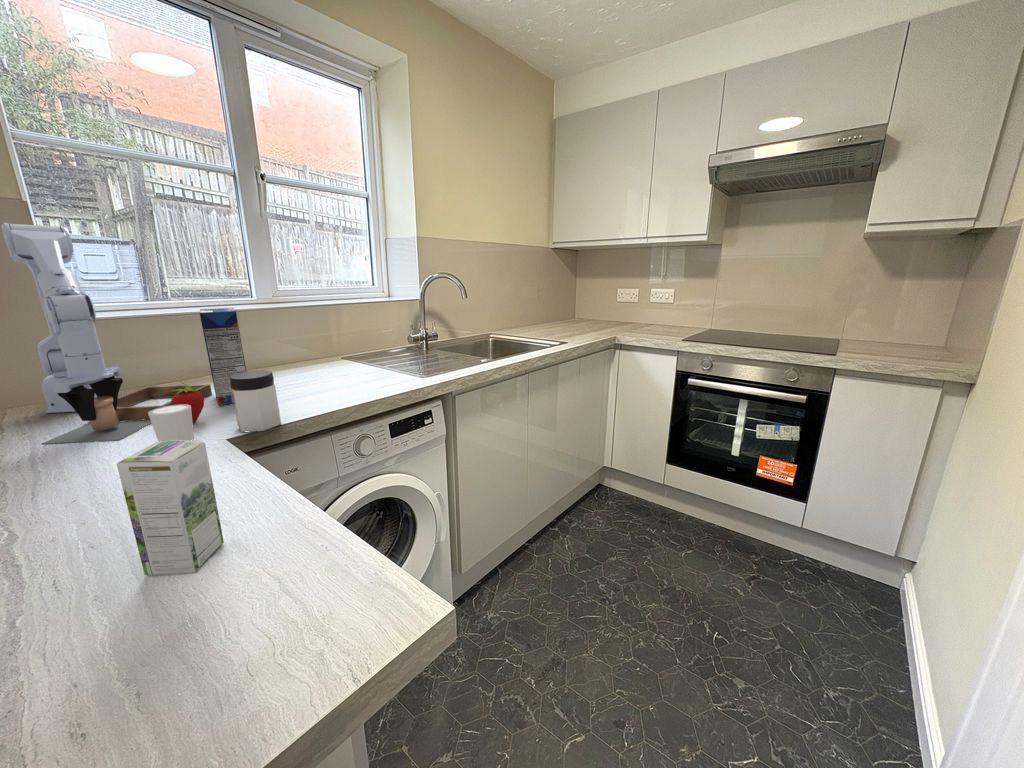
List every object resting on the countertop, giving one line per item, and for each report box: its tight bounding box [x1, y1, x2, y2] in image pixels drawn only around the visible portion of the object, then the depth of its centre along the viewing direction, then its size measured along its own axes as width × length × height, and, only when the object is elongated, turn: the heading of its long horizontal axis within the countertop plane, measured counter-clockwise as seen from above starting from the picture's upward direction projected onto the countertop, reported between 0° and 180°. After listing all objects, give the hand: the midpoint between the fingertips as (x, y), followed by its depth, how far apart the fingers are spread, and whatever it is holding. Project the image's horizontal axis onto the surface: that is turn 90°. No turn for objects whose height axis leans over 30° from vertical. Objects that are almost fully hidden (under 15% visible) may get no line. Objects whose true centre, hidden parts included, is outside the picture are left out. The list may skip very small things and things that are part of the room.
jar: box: [229, 369, 282, 433], centre depth 92 cm, size 9×8×12 cm
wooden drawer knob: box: [88, 396, 120, 431], centre depth 90 cm, size 5×5×6 cm
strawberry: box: [170, 381, 205, 424], centre depth 94 cm, size 6×8×10 cm
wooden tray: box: [115, 383, 213, 421], centre depth 106 cm, size 16×20×3 cm
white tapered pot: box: [148, 404, 195, 442], centre depth 84 cm, size 7×7×7 cm
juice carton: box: [199, 307, 247, 407], centre depth 110 cm, size 12×8×24 cm, turn 35°
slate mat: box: [41, 419, 152, 445], centre depth 90 cm, size 14×12×1 cm
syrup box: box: [116, 440, 225, 577], centre depth 49 cm, size 6×6×14 cm
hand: (100, 415), depth 89 cm, fingers closed on wooden drawer knob, 5 cm apart
